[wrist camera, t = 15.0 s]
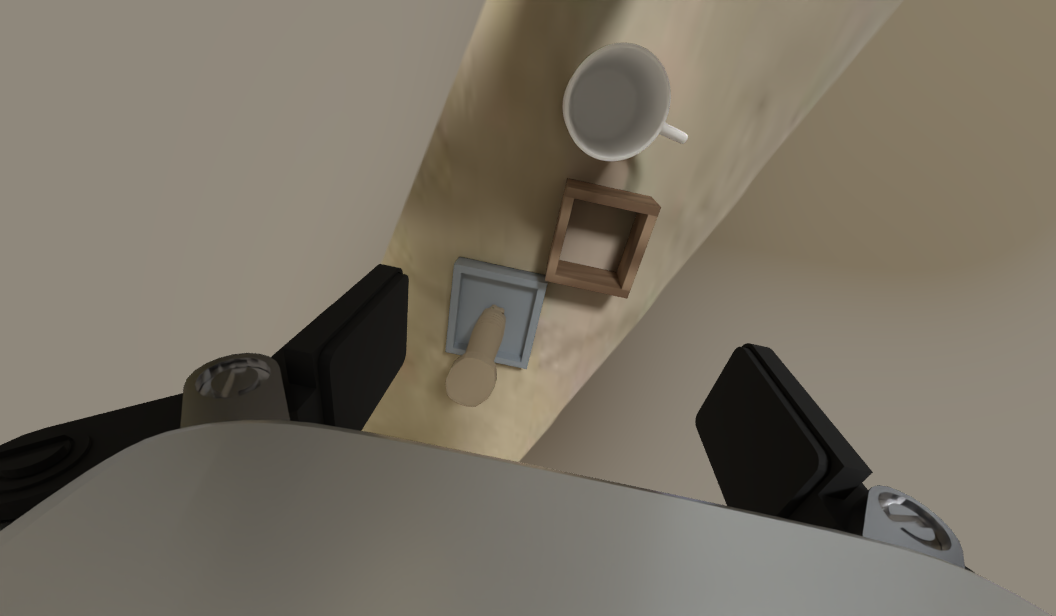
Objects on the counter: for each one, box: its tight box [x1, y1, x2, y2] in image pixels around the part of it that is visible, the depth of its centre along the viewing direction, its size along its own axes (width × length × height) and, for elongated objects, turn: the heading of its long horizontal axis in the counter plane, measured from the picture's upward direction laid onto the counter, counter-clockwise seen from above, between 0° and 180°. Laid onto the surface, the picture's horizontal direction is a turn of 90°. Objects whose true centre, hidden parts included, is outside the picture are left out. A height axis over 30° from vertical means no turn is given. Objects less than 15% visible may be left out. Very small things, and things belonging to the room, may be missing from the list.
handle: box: [446, 305, 506, 407], centre depth 45 cm, size 5×6×15 cm
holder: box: [545, 178, 661, 298], centre depth 43 cm, size 11×10×5 cm
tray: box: [445, 257, 548, 369], centre depth 51 cm, size 14×12×2 cm
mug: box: [563, 43, 688, 161], centre depth 34 cm, size 12×8×12 cm
